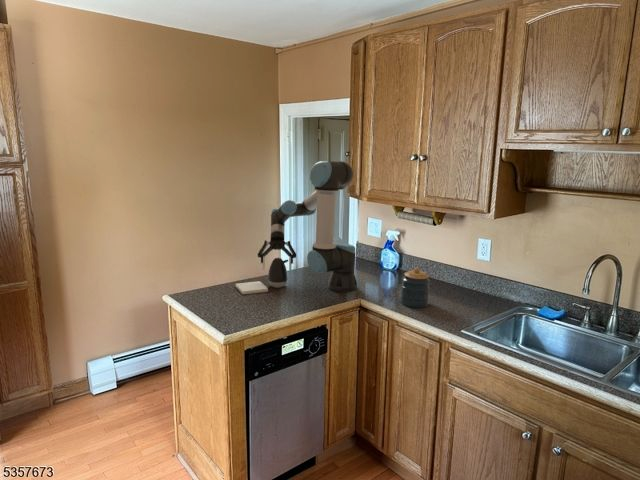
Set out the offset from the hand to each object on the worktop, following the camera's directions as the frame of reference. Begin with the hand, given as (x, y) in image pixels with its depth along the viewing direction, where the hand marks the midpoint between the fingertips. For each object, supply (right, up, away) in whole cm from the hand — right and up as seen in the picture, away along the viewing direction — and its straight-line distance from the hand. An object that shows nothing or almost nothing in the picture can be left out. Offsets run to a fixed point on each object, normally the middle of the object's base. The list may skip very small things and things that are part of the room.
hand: (276, 268), depth 229 cm
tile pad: (-12, -10, -5) cm, 17 cm away
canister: (+67, -16, -18) cm, 71 cm away
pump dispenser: (0, -9, +1) cm, 9 cm away
